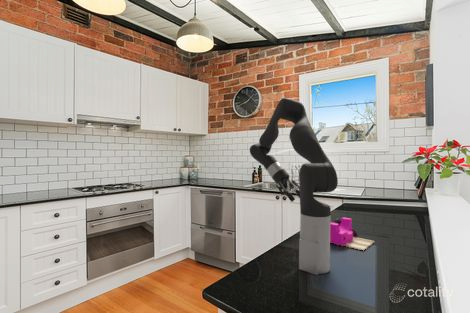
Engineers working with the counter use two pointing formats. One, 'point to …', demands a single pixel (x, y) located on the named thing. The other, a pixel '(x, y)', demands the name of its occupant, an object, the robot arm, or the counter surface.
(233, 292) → the counter surface
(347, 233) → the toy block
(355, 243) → the beige piece
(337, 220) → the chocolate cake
